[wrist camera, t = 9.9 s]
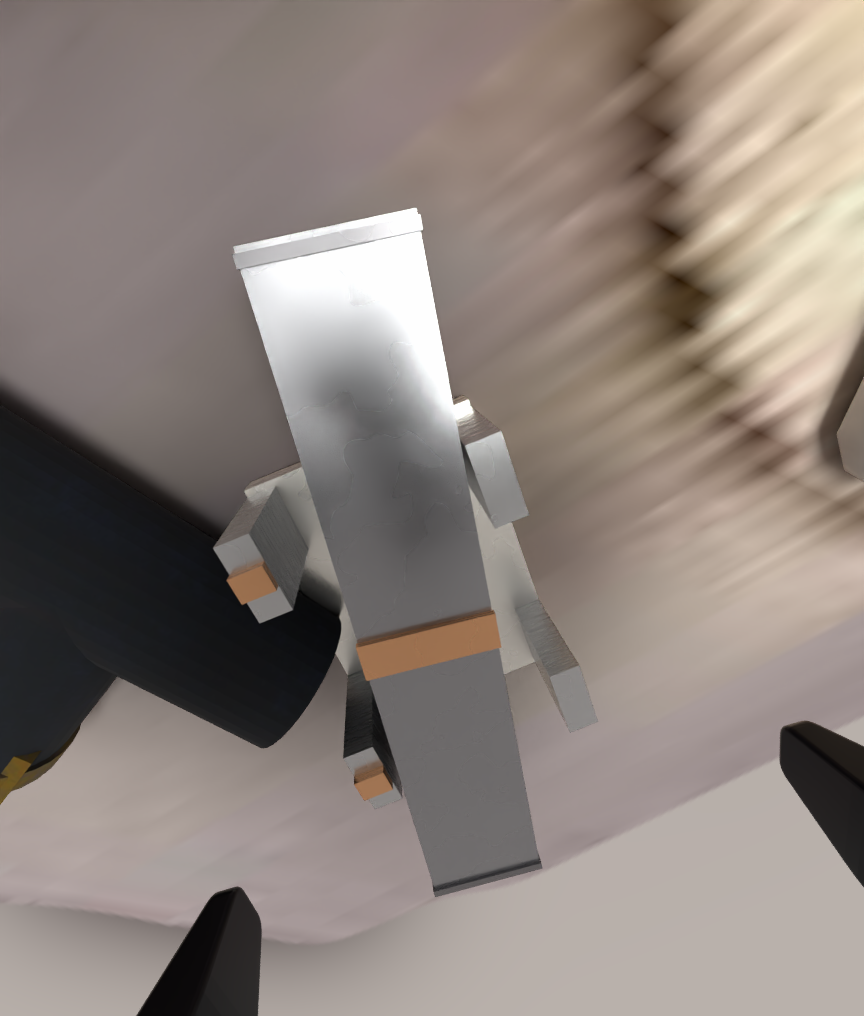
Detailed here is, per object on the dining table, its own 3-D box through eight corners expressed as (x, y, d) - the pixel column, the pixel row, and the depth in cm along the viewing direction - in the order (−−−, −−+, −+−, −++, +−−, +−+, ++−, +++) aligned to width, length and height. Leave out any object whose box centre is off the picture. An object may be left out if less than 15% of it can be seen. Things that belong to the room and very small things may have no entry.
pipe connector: (133, 908, 17) (-432, 709, 13) (184, 778, 22) (-207, 602, 17) (338, 677, 15) (-243, 338, 11) (343, 591, 20) (-50, 335, 15)
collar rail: (250, 481, 18) (204, 545, 13) (462, 395, 17) (501, 424, 12) (375, 707, 22) (377, 822, 17) (549, 638, 21) (603, 733, 16)
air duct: (512, 778, 23) (543, 873, 19) (424, 801, 22) (436, 902, 18) (405, 236, 15) (419, 204, 11) (266, 266, 14) (228, 245, 10)
